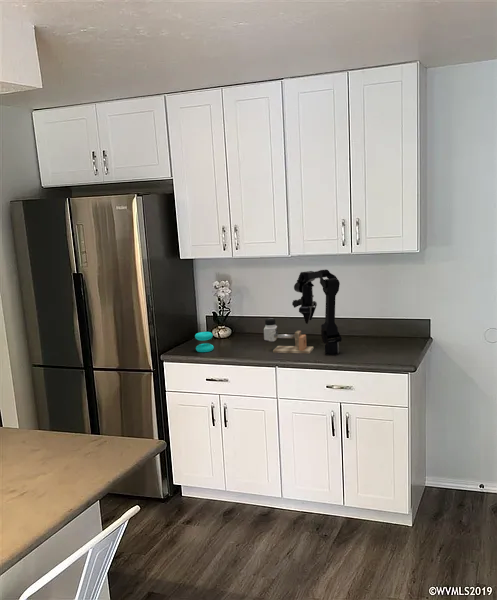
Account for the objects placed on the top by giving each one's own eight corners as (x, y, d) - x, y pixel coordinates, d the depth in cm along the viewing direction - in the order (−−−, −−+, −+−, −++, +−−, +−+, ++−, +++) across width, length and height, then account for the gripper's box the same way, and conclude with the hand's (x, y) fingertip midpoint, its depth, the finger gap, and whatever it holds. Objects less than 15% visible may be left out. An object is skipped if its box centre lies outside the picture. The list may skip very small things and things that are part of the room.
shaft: (295, 339, 327) (295, 330, 327) (293, 341, 324) (293, 332, 323) (270, 339, 332) (270, 330, 331) (268, 341, 328) (268, 332, 327)
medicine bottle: (276, 340, 353) (275, 320, 351) (264, 340, 355) (263, 320, 353) (278, 337, 360) (277, 317, 358) (266, 337, 362) (265, 317, 360)
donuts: (191, 333, 339) (207, 330, 344) (193, 350, 341) (208, 347, 346) (199, 336, 331) (215, 333, 336) (200, 353, 332) (217, 350, 337)
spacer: (306, 347, 328) (305, 334, 327) (303, 350, 321) (303, 337, 320) (302, 347, 329) (301, 334, 327) (299, 350, 322) (298, 337, 321)
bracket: (313, 348, 328) (312, 329, 327) (309, 353, 319) (308, 334, 317) (278, 347, 335) (277, 329, 333) (273, 352, 325) (272, 333, 324)
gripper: (297, 291, 344) (298, 318, 347) (289, 297, 327) (290, 325, 330) (316, 291, 341) (317, 318, 344) (309, 296, 324) (310, 325, 326)
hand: (308, 321), depth 336 cm, fingers open, 9 cm apart
